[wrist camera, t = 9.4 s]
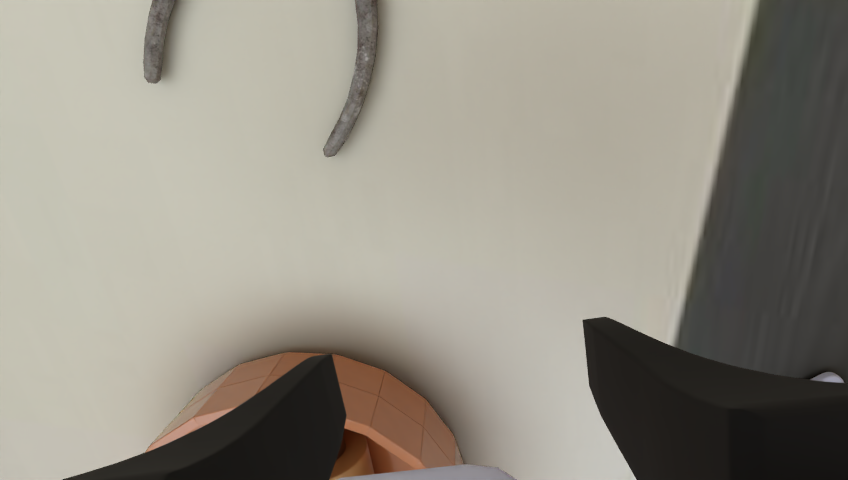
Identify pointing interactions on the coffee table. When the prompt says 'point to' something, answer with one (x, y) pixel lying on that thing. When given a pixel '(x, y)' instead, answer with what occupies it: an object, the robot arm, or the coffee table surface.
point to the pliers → (360, 81)
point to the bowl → (364, 403)
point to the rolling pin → (352, 457)
